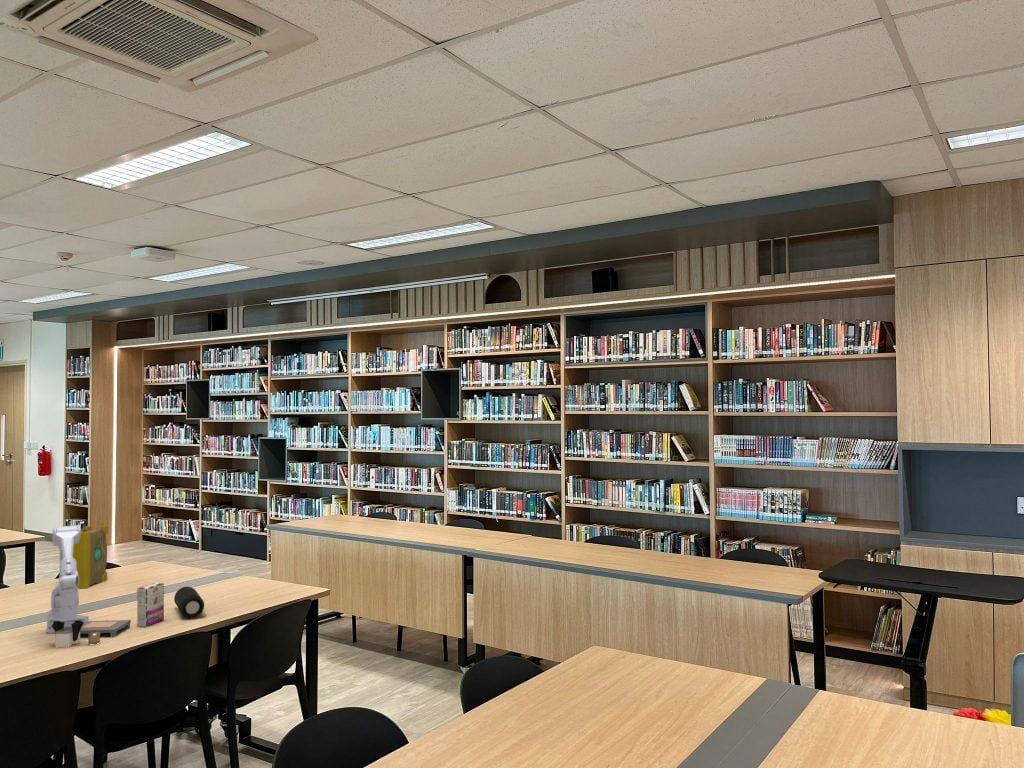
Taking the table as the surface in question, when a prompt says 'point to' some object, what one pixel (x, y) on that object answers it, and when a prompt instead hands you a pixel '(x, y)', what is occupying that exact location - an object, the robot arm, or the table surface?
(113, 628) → the stand
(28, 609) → the table surface
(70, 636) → the housing
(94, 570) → the decorative book
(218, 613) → the table surface
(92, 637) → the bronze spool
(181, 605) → the portable speaker
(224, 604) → the table surface
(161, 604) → the candy bar box
